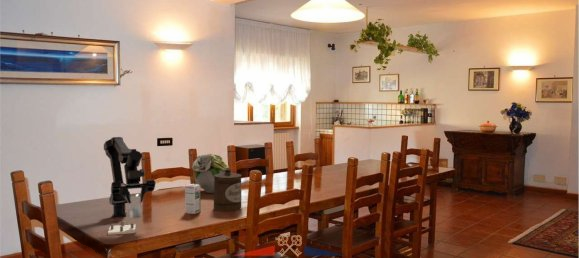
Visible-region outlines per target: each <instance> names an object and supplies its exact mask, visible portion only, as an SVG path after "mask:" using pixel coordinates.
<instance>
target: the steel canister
mask: <svg viewBox="0 0 579 258" xmlns="http://www.w3.org/2000/svg"><path fill="white" fill-rule="evenodd" d="M129 201H130V202H129V203H128V218H129V219H140V218H142V202H141V193H130V195H129Z"/></svg>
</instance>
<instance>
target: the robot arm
mask: <svg viewBox="0 0 579 258" xmlns="http://www.w3.org/2000/svg"><path fill="white" fill-rule="evenodd" d="M103 150H104V153H105V155H106V156H107V157H108V158H109V161H110V168H111V175H112V180H113V182H112V183H111V187H110V196H109V200H108V201H109V202H108V203H109V205H111V206H112V209H113V211H112V212H113V213H112V218H118V217H127V212H126V204H129V202H130V201H129V195H130V194H131V193H130V191H129V190H132V189H133V190H134V189H140V194H141V203H143V201H144V196H145V195H146V194H147V193H148V192H154V191H155V189H156V188H155V187H156V180H155V179H146V180H145V181H144V182H145V183H140V182H141V178H142V177H145V169H144V168H140V169H138V168H139V166H140V164H141V161H142V158H143V154H142V153H141V152H140V151H138V150H137V149H136V148H129V147H128V146H127V144H126V143H125V142H124V139H123V136H122V137H121V136H114V137H113V136H112V137H111V138H110V139H107V140H105V142H104V143H103ZM121 164H122V165H123V164H124V165H123V168H124V176H125V182H124V177H123V171H122V165H121Z"/></svg>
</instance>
